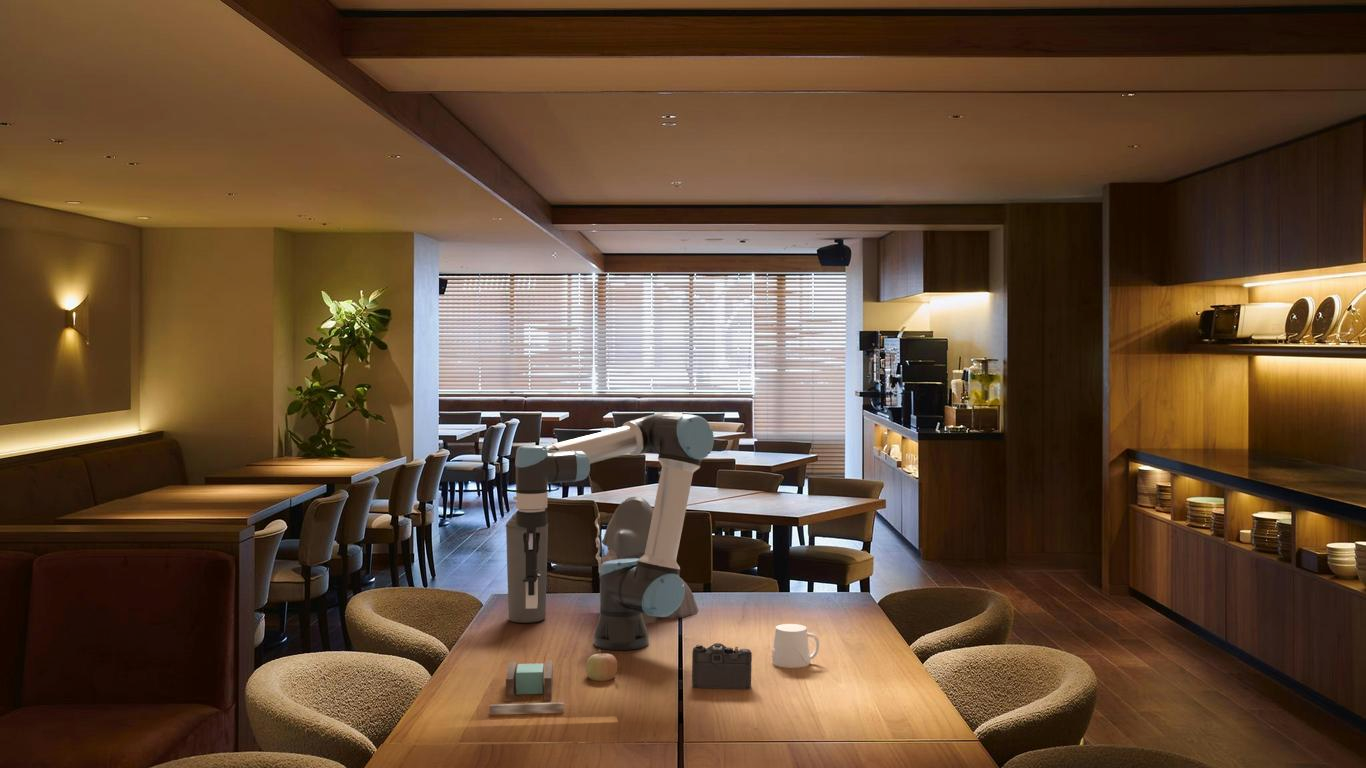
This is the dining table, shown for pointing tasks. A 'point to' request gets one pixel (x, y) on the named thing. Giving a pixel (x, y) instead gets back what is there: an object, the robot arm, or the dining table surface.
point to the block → (530, 678)
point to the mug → (792, 646)
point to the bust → (636, 545)
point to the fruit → (601, 667)
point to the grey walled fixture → (527, 707)
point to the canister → (524, 574)
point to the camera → (721, 667)
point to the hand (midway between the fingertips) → (531, 606)
